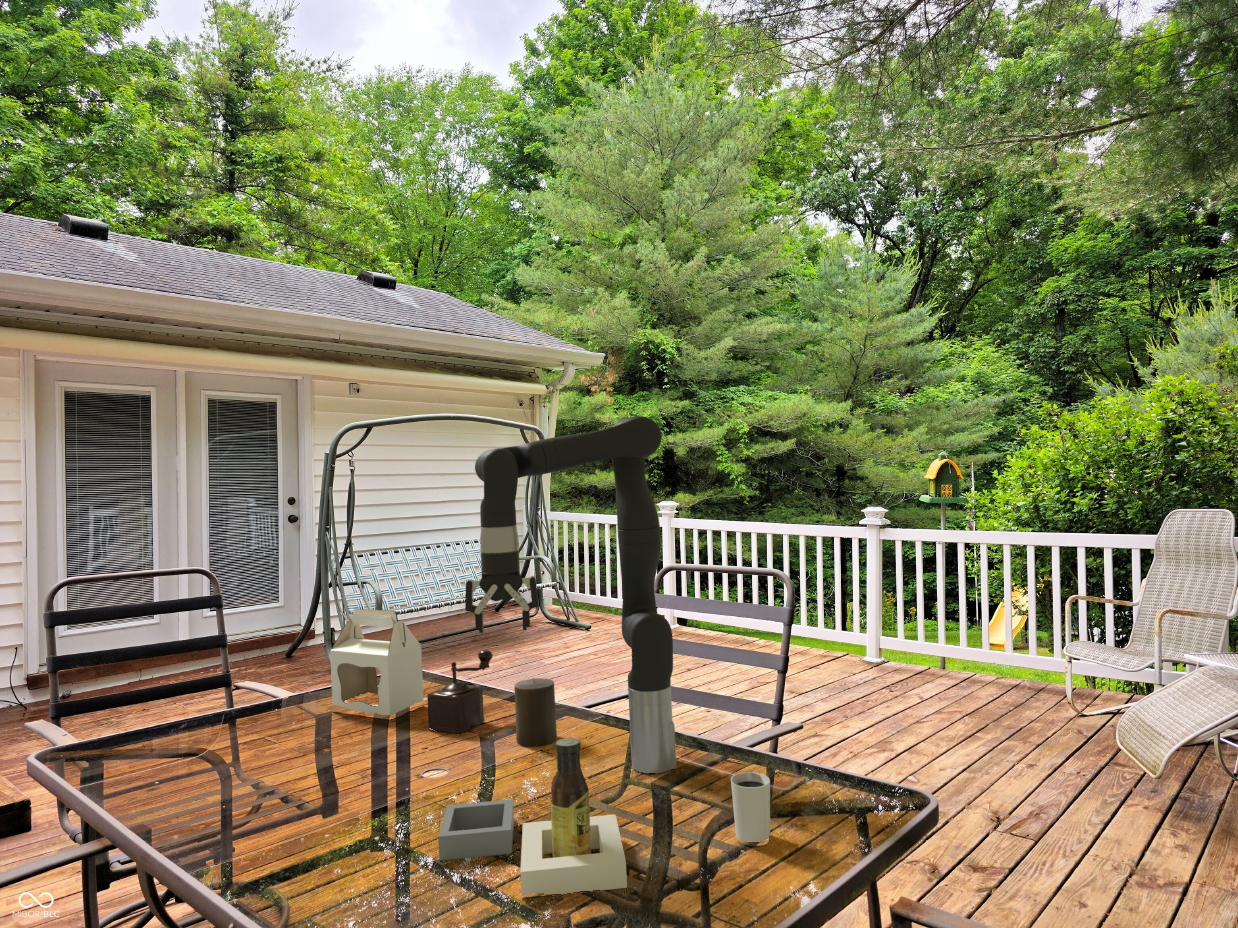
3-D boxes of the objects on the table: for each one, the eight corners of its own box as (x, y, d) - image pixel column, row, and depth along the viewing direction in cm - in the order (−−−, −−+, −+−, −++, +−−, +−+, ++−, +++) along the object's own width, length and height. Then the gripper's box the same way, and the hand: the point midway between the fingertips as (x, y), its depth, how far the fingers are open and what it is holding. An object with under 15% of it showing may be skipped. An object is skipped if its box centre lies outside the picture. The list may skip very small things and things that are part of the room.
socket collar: (616, 837, 131) (615, 814, 131) (627, 887, 115) (625, 861, 115) (523, 846, 129) (522, 822, 129) (521, 898, 113) (520, 871, 113)
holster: (514, 820, 139) (513, 799, 139) (511, 853, 127) (510, 829, 127) (448, 827, 137) (447, 805, 137) (439, 860, 125) (438, 836, 125)
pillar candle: (540, 749, 174) (537, 685, 174) (508, 743, 179) (505, 680, 179) (565, 736, 182) (562, 674, 182) (533, 730, 187) (530, 670, 188)
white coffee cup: (749, 852, 123) (746, 791, 124) (725, 835, 129) (722, 777, 130) (781, 841, 127) (778, 781, 127) (756, 825, 132) (753, 768, 133)
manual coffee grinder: (462, 735, 186) (459, 663, 186) (427, 730, 191) (424, 660, 191) (498, 716, 200) (495, 648, 200) (465, 712, 205) (462, 646, 205)
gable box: (331, 712, 211) (327, 612, 211) (367, 698, 222) (363, 604, 223) (391, 721, 200) (386, 616, 201) (424, 706, 212) (420, 607, 213)
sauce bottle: (585, 876, 118) (580, 750, 118) (547, 874, 119) (542, 749, 120) (595, 855, 125) (590, 735, 125) (559, 853, 126) (554, 734, 126)
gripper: (461, 553, 145) (465, 637, 144) (535, 548, 146) (539, 632, 146) (465, 549, 152) (468, 629, 152) (535, 545, 153) (539, 624, 153)
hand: (503, 630), depth 149 cm, fingers open, 8 cm apart
